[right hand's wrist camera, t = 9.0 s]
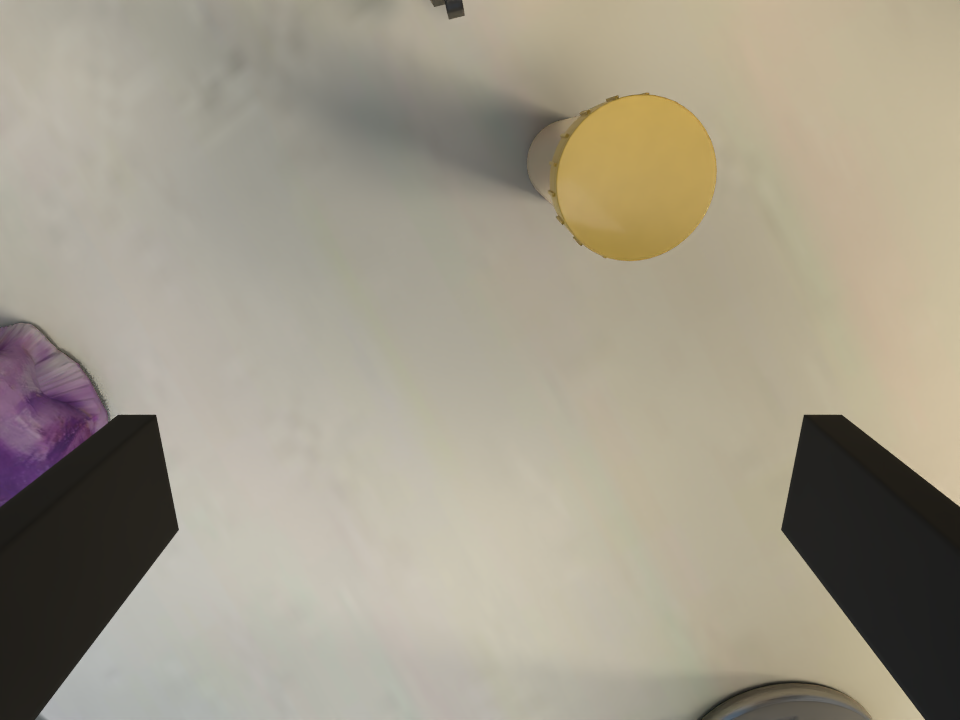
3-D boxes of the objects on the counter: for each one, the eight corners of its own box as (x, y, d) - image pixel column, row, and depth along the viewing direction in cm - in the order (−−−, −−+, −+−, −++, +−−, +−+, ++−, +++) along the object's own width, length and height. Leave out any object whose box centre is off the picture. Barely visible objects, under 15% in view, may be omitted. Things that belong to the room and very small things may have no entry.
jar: (609, 119, 33) (712, 104, 18) (603, 203, 34) (694, 251, 20) (528, 119, 33) (565, 103, 18) (525, 203, 34) (558, 251, 20)
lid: (707, 96, 20) (730, 91, 18) (689, 253, 21) (708, 263, 19) (551, 95, 20) (558, 90, 18) (545, 252, 21) (550, 263, 19)
